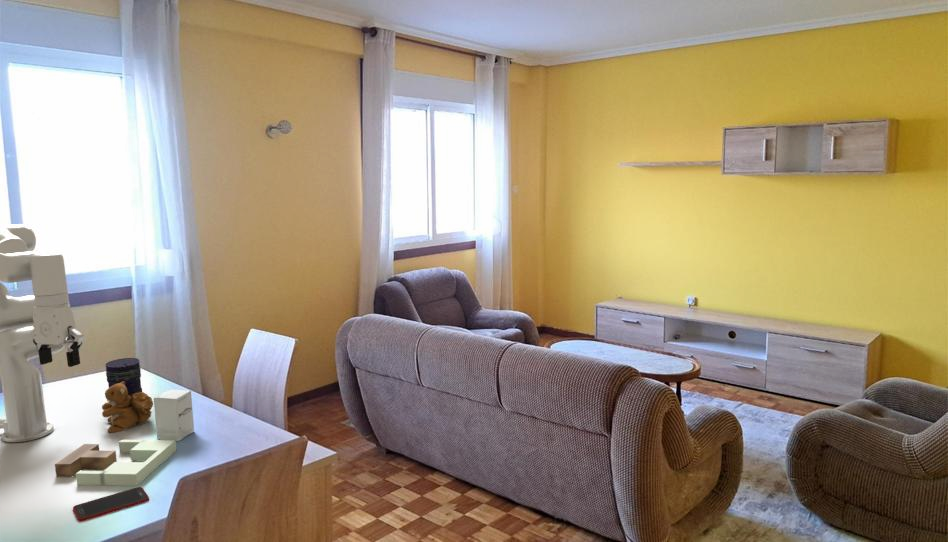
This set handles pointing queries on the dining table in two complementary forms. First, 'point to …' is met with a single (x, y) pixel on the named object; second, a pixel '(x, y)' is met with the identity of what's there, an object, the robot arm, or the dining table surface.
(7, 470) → the dining table surface
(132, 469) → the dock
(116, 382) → the dark blue barrel
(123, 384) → the stuffed squirrel
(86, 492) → the dining table surface
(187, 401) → the supplement box
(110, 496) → the cell phone
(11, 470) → the dining table surface
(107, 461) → the tee
